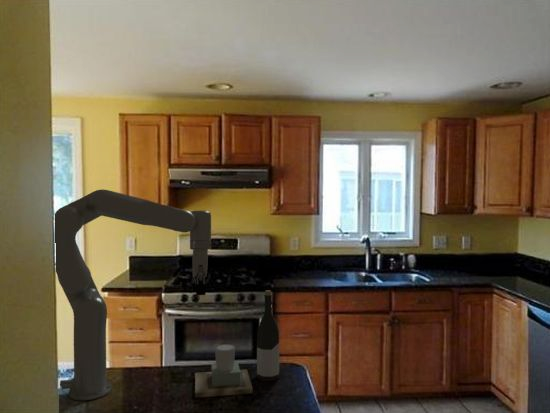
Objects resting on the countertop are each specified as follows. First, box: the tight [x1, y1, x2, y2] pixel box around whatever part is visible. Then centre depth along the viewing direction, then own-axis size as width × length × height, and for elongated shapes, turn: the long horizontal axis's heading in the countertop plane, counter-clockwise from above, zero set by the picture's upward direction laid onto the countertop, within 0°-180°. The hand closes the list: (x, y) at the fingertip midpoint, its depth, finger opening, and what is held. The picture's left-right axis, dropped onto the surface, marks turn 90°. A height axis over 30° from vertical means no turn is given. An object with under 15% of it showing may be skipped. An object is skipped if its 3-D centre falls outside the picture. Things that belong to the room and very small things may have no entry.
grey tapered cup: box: [214, 343, 236, 371], centre depth 145 cm, size 7×7×7 cm
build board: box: [194, 368, 253, 398], centre depth 145 cm, size 18×16×2 cm
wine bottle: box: [256, 289, 280, 382], centre depth 152 cm, size 8×8×30 cm
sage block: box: [211, 361, 241, 386], centre depth 145 cm, size 9×9×4 cm
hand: (200, 292), depth 157 cm, fingers open, 9 cm apart
